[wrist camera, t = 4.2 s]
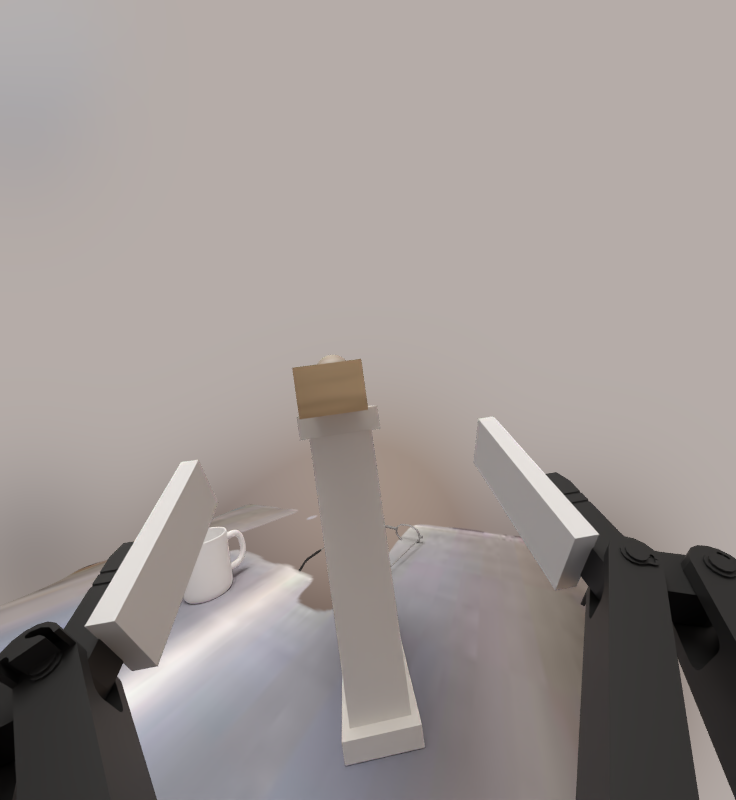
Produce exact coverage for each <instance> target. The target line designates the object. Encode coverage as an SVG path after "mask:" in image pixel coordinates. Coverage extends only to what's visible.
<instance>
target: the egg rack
mask: <svg viewBox="0 0 736 800" xmlns="http://www.w3.org/2000/svg"><path fill="white" fill-rule="evenodd" d="M293 376H294V383H295V391H296V398H297V405H298V412H299V419H306V418H313V417H321V416H328V415H335V414H342V413H349V412H356V411H363V410H368V405H367V398H366V390H365V383H364V376H363V369H362V362H361V359H357V360H349V361H346V360H345V359H343V358H342V357H340V356H337V355H329V356H326V357H324V358H322V359H321V360H320V361H319V363H318V364H317V365H310V366H303V367H295V368H293Z"/></svg>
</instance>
